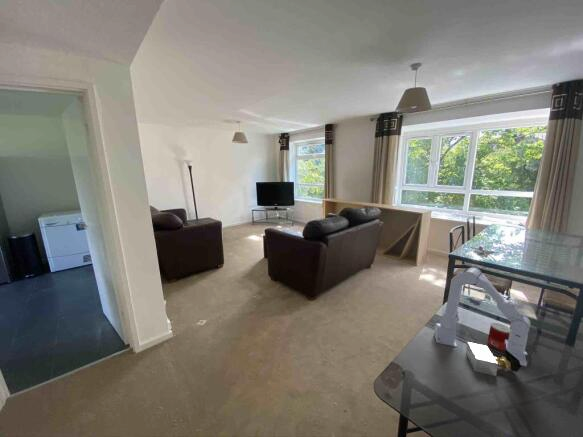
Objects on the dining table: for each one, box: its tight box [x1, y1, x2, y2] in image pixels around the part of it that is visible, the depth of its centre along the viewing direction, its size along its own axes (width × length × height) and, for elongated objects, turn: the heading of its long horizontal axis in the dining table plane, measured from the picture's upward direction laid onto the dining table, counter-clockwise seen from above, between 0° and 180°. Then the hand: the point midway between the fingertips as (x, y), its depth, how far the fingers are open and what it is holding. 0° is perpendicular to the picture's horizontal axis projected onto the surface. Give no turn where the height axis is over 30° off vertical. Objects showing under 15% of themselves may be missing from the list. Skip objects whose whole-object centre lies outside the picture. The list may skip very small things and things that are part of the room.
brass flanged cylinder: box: [494, 356, 511, 371], centre depth 109 cm, size 10×6×6 cm, turn 69°
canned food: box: [487, 322, 511, 352], centre depth 123 cm, size 8×8×11 cm
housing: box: [465, 341, 499, 377], centre depth 112 cm, size 8×12×6 cm, turn 159°
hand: (511, 367), depth 108 cm, fingers closed on brass flanged cylinder, 3 cm apart
